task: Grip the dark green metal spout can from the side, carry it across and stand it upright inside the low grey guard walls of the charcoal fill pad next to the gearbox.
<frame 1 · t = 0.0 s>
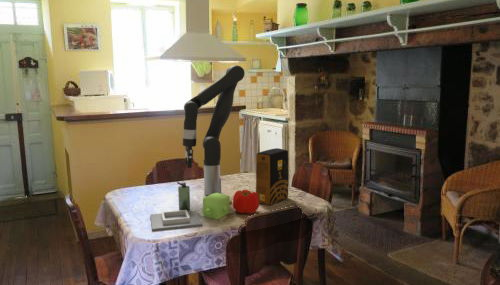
hand: (188, 166, 227), 17 cm above the table, tool pointing down, fingers open, 8 cm apart
tomato: (246, 212, 201), on the table
black and gold box: (272, 200, 221), on the table
gearbox: (216, 216, 196), on the table
fill pad: (175, 220, 189), on the table
spout can: (184, 210, 205), on the table
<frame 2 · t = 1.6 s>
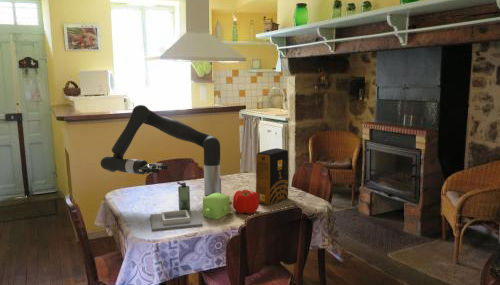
hand: (163, 169, 205), 20 cm above the table, tool horizontal, fingers open, 8 cm apart
nothing on the table moved.
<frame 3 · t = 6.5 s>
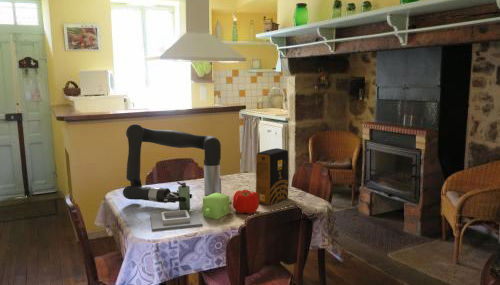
hand: (188, 197, 203), 7 cm above the table, tool horizontal, fingers closed on spout can, 5 cm apart
spout can: (184, 210, 205), on the table, touching gripper
everything else where it was.
when the fingers open (9 cm above the table, at t = 12.3 s): spout can drops 1 cm, resting on fill pad.
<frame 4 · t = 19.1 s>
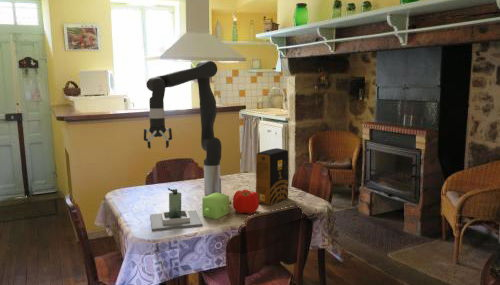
hand: (158, 148, 209), 30 cm above the table, tool pointing down, fingers open, 8 cm apart
spout can: (175, 218, 189), point 1 cm above the table, touching fill pad
everything else where it was.
at the end: spout can 0.1 cm off-centre on the fill pad, point 1.1 cm above the fill pad's base; spout can tilted 2°; the gripper is holding nothing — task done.
